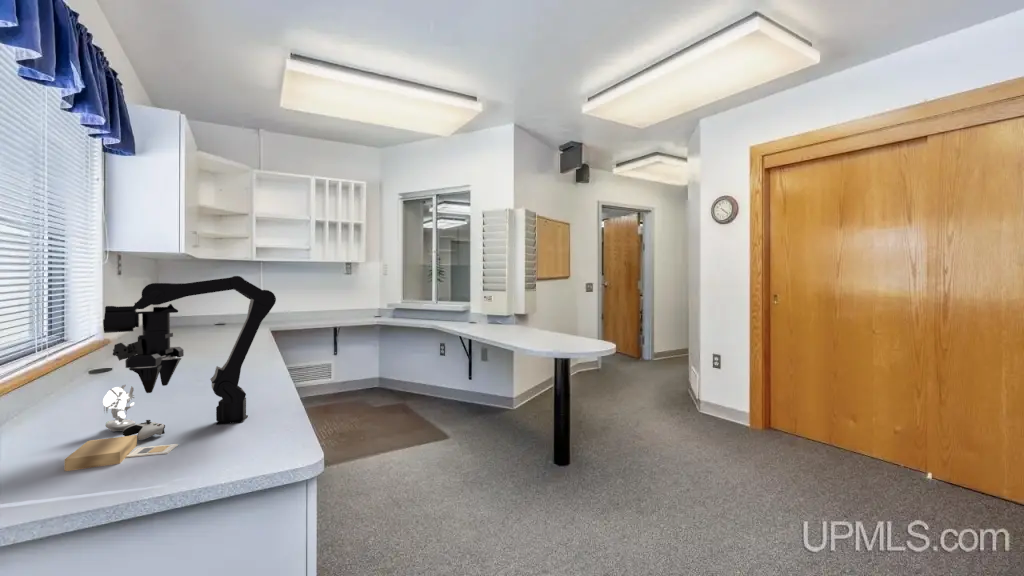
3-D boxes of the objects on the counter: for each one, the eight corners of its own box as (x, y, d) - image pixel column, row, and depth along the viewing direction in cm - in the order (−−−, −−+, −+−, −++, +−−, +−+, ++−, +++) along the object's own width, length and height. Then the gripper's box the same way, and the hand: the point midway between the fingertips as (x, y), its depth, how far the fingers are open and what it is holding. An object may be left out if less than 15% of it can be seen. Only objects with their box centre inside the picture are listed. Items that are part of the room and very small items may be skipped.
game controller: (118, 432, 114) (139, 412, 118) (135, 444, 117) (155, 424, 121) (136, 437, 109) (158, 416, 113) (154, 449, 112) (174, 428, 116)
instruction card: (178, 445, 109) (178, 443, 109) (167, 453, 103) (167, 451, 103) (138, 448, 106) (138, 447, 106) (125, 457, 101) (125, 455, 101)
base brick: (136, 447, 109) (136, 434, 109) (119, 465, 97) (119, 451, 97) (88, 453, 105) (88, 440, 105) (64, 473, 93) (64, 459, 93)
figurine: (140, 430, 121) (140, 386, 121) (110, 437, 115) (110, 390, 115) (125, 425, 125) (125, 382, 125) (95, 431, 120) (96, 387, 120)
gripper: (137, 328, 124) (137, 384, 124) (98, 335, 107) (99, 400, 107) (183, 327, 128) (184, 381, 128) (154, 333, 110) (155, 396, 110)
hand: (157, 389), depth 118 cm, fingers open, 9 cm apart
